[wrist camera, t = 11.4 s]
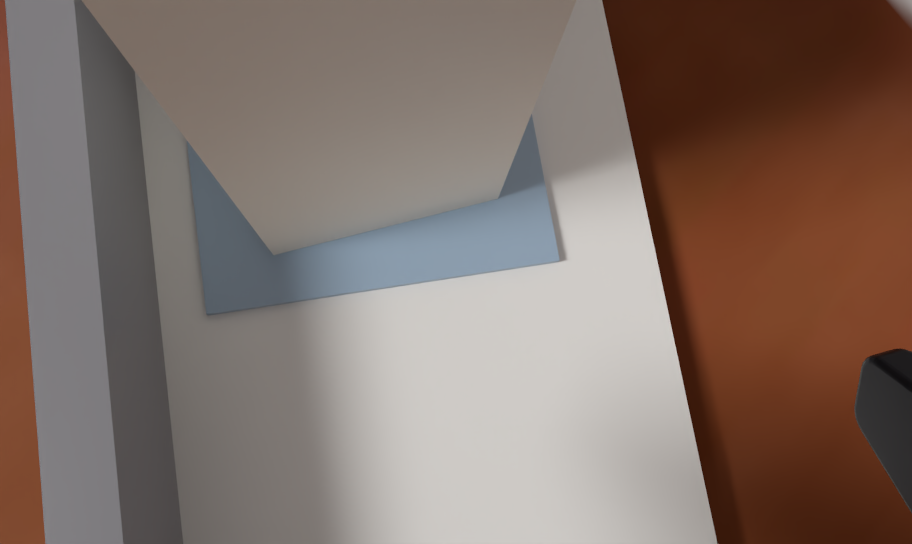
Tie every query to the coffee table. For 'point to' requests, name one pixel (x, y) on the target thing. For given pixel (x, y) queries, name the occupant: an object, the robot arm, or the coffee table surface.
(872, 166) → the coffee table surface
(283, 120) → the block
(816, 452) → the coffee table surface
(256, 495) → the arena
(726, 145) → the coffee table surface
